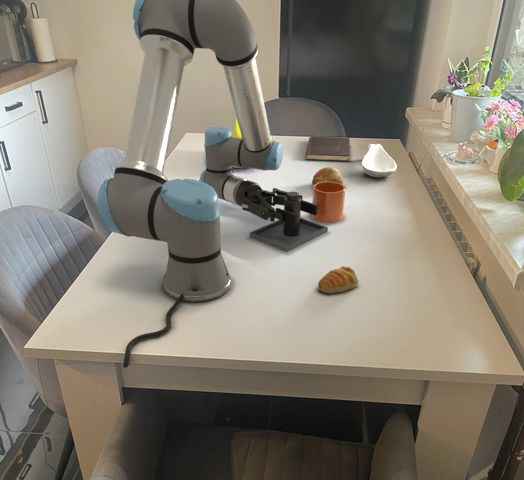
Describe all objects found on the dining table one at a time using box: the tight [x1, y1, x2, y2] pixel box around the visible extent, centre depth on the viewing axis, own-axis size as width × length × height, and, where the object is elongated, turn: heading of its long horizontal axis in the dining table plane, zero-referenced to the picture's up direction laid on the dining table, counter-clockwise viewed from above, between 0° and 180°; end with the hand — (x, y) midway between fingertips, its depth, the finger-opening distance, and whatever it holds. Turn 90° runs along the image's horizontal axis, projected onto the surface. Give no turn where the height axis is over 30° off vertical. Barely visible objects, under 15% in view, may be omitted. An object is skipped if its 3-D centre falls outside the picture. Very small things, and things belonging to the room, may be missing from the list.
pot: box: [310, 182, 346, 223], centre depth 155 cm, size 9×9×9 cm
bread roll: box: [311, 166, 344, 186], centre depth 176 cm, size 10×10×8 cm
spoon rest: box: [361, 143, 398, 179], centre depth 189 cm, size 24×12×7 cm, turn 0°
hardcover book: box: [305, 135, 351, 163], centre depth 207 cm, size 16×23×2 cm
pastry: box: [317, 265, 359, 294], centre depth 124 cm, size 9×7×4 cm
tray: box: [249, 217, 329, 253], centre depth 147 cm, size 17×13×2 cm
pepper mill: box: [283, 191, 302, 236], centre depth 144 cm, size 4×4×11 cm
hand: (306, 215), depth 141 cm, fingers open, 8 cm apart
